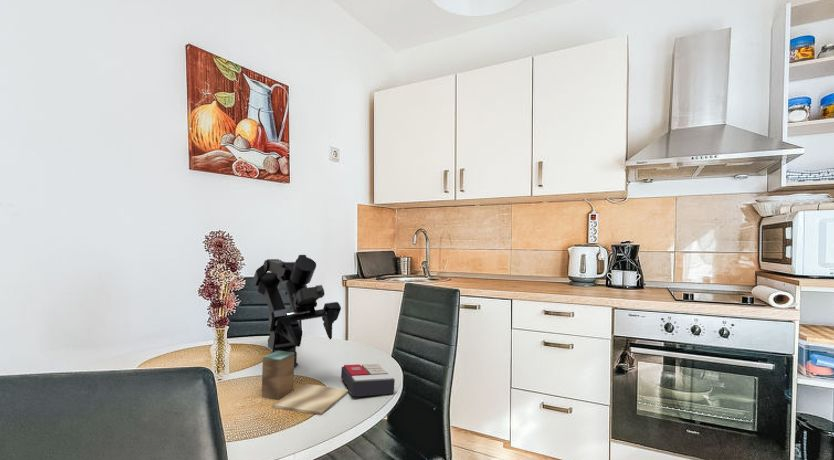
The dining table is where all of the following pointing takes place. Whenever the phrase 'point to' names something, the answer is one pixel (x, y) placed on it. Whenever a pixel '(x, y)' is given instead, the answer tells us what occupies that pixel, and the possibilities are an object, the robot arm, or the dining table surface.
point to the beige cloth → (311, 399)
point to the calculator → (367, 380)
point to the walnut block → (277, 375)
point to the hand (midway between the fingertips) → (314, 341)
